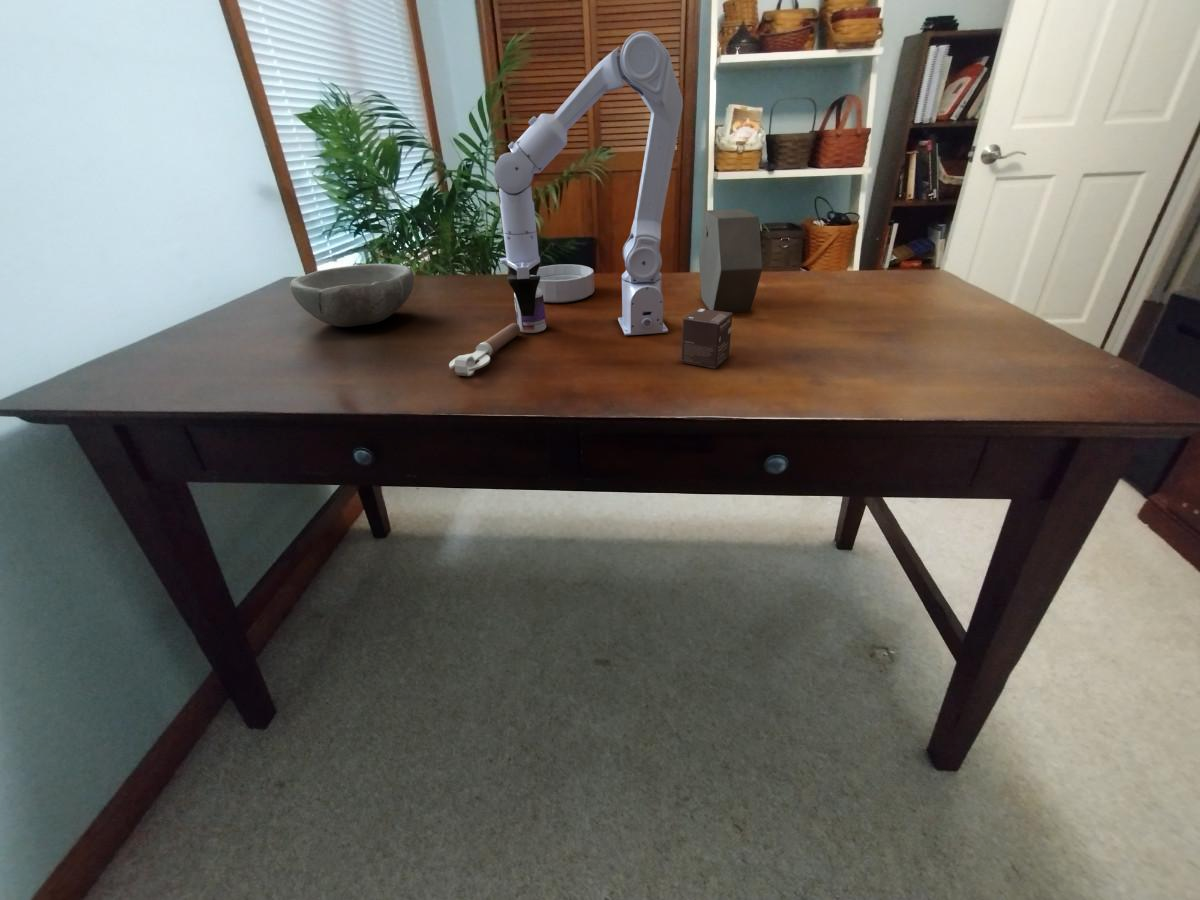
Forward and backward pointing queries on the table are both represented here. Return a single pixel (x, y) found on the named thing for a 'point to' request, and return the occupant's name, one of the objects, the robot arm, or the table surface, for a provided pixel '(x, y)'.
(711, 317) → the box
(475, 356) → the manual can opener
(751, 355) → the table surface
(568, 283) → the round gray tray
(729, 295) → the planter
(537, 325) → the pill bottle
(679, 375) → the table surface
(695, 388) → the table surface
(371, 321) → the bowl
